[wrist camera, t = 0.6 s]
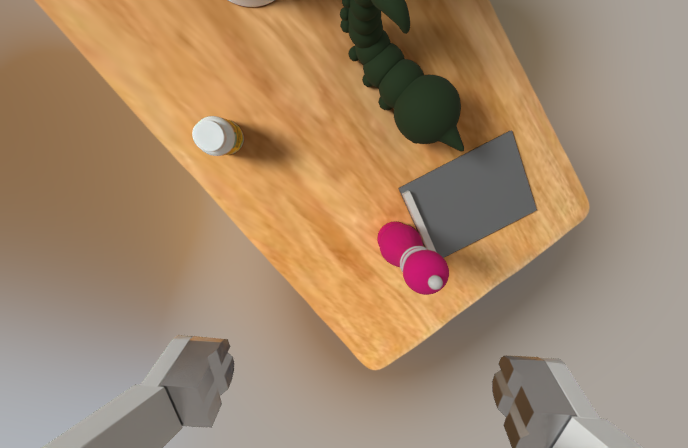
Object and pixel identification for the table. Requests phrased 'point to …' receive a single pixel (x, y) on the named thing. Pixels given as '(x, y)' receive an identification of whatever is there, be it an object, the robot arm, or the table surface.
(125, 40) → the table surface
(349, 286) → the table surface
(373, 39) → the toy figurine
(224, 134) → the supplement bottle
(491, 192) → the grey rectangular board
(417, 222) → the grey stop strip
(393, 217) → the table surface
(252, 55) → the table surface
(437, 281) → the magenta bowling pin
